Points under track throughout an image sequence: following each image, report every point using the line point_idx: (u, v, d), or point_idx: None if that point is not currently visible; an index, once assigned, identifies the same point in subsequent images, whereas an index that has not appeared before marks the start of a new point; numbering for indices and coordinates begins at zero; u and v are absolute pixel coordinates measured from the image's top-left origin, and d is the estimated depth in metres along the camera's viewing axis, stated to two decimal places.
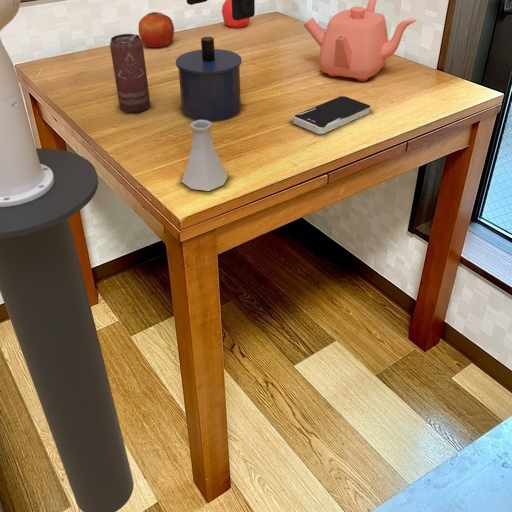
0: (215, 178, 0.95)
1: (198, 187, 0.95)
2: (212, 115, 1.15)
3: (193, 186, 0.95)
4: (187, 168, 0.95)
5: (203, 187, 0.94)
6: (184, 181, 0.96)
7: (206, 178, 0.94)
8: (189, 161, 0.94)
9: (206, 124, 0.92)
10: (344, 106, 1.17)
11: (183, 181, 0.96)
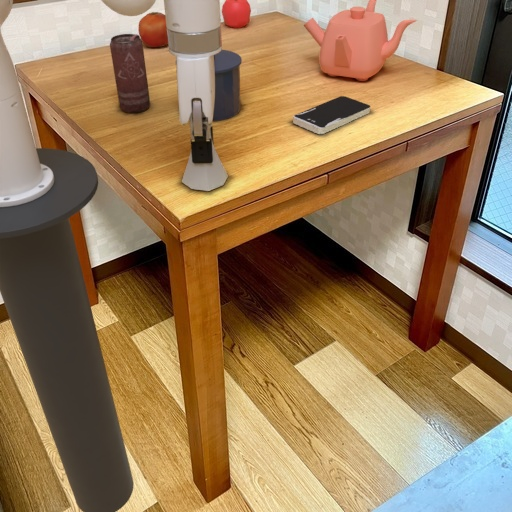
0: (215, 178, 0.95)
1: (198, 187, 0.95)
2: None
3: (193, 186, 0.95)
4: (187, 168, 0.95)
5: (203, 187, 0.94)
6: (184, 181, 0.96)
7: (206, 178, 0.94)
8: (189, 161, 0.94)
9: None
10: (344, 106, 1.17)
11: (183, 181, 0.96)
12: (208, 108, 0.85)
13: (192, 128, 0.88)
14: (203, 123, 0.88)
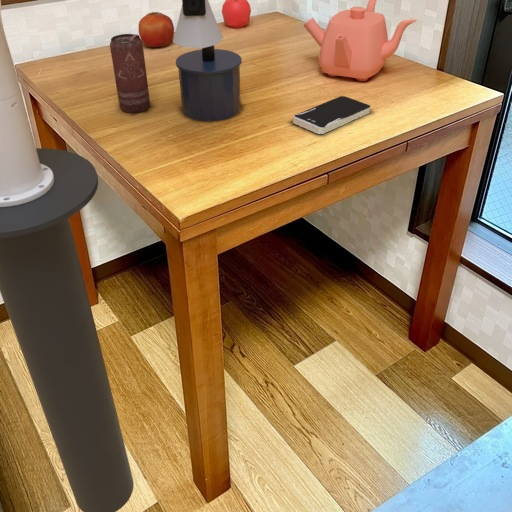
0: (209, 35, 0.87)
1: (190, 44, 0.87)
2: (212, 115, 1.15)
3: (184, 43, 0.87)
4: (178, 24, 0.87)
5: (195, 44, 0.87)
6: (175, 40, 0.88)
7: (199, 34, 0.86)
8: (180, 16, 0.87)
9: None
10: (344, 106, 1.17)
11: (174, 40, 0.89)
12: None
13: None
14: None
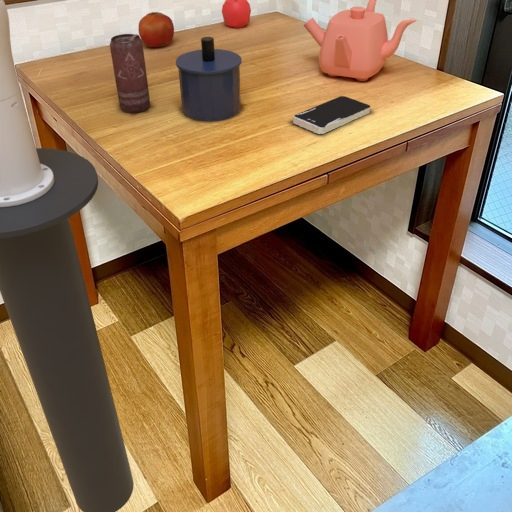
0: None
1: None
2: (212, 115, 1.15)
3: None
4: None
5: None
6: None
7: None
8: None
9: None
10: (344, 106, 1.17)
11: None
12: None
13: None
14: None
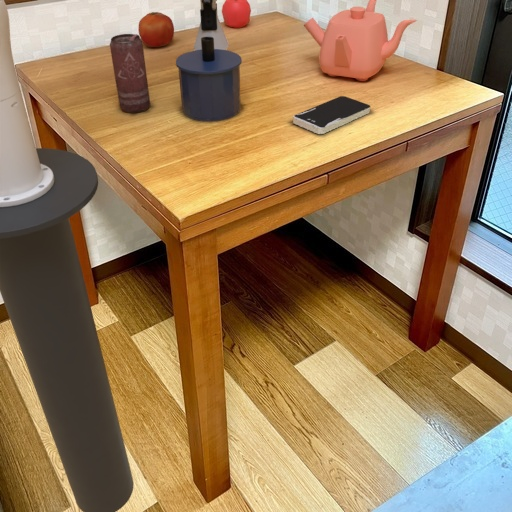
0: (220, 43, 1.23)
1: None
2: (212, 115, 1.15)
3: None
4: (198, 36, 1.23)
5: None
6: (195, 47, 1.24)
7: None
8: (199, 30, 1.22)
9: None
10: (344, 106, 1.17)
11: (194, 47, 1.24)
12: None
13: None
14: None
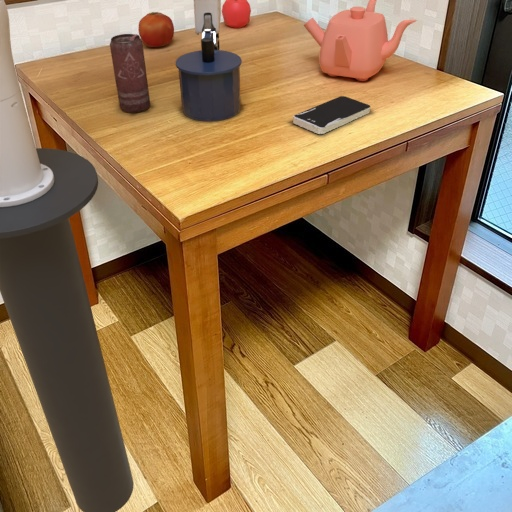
0: None
1: None
2: (212, 115, 1.15)
3: None
4: None
5: None
6: None
7: None
8: None
9: None
10: (344, 106, 1.17)
11: None
12: (216, 21, 1.17)
13: (203, 35, 1.19)
14: None
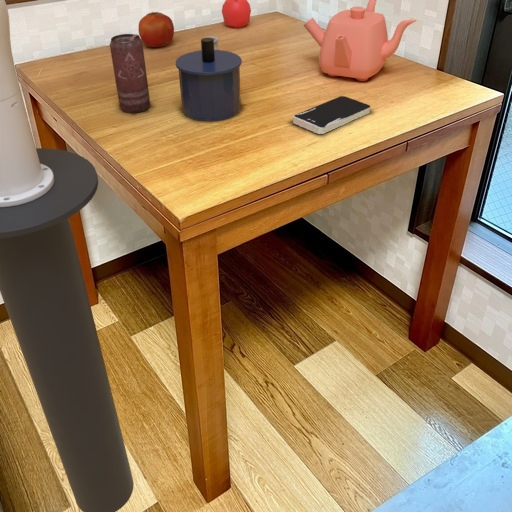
0: None
1: None
2: (212, 115, 1.15)
3: None
4: None
5: None
6: None
7: None
8: None
9: (214, 39, 1.25)
10: (344, 106, 1.17)
11: None
12: None
13: None
14: None
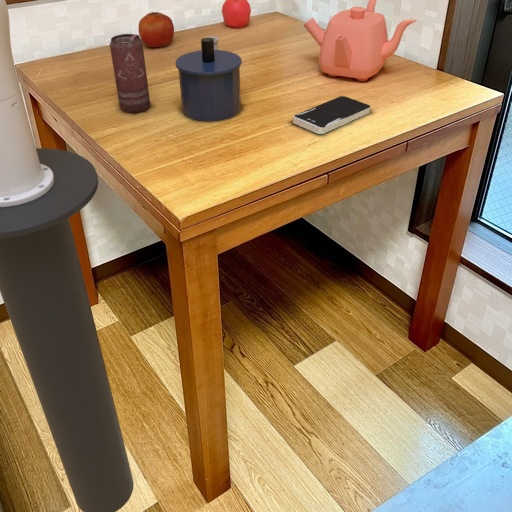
0: None
1: None
2: (212, 115, 1.15)
3: None
4: None
5: None
6: None
7: None
8: None
9: (214, 39, 1.25)
10: (344, 106, 1.17)
11: None
12: None
13: None
14: None
